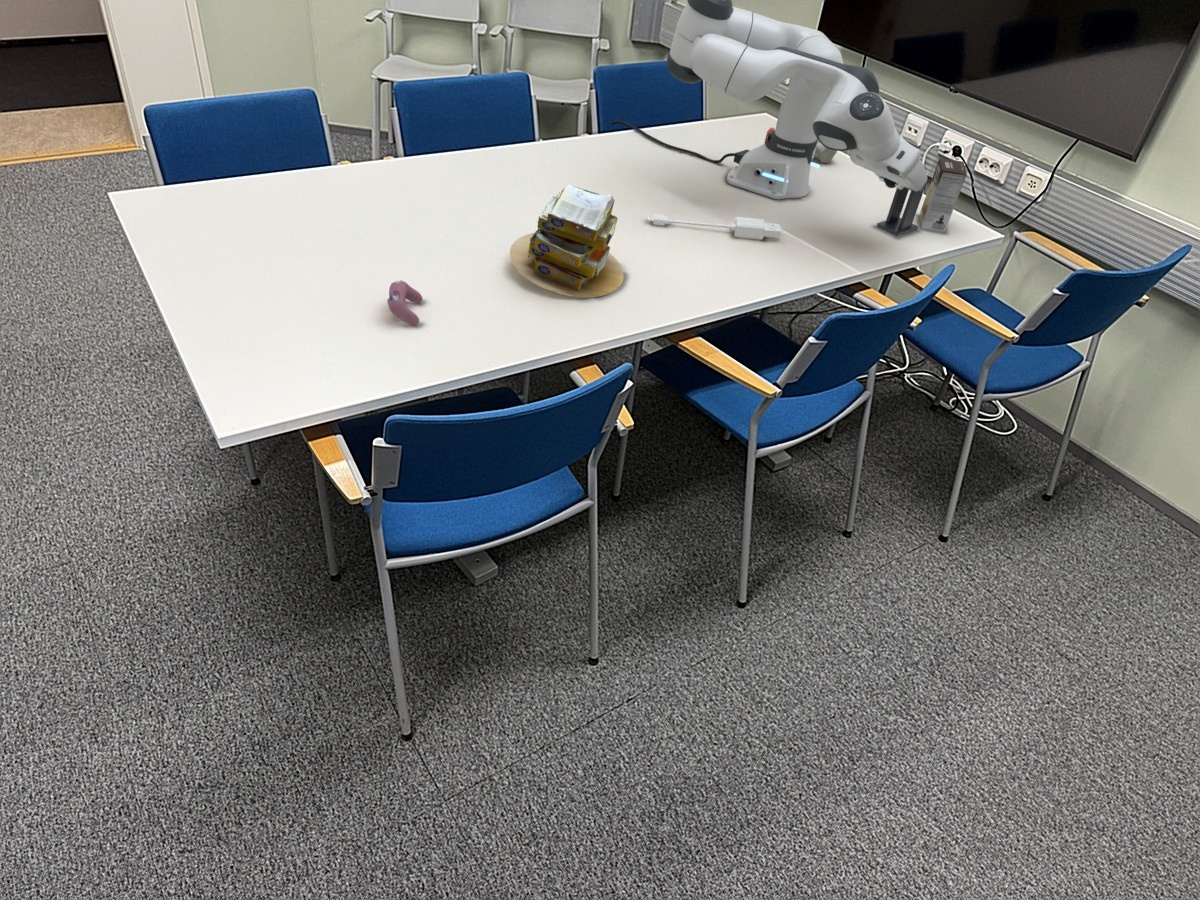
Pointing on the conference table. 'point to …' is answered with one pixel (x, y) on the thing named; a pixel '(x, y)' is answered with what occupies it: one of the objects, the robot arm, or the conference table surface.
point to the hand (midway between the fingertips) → (892, 182)
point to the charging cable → (733, 226)
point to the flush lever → (891, 183)
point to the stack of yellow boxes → (571, 246)
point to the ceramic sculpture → (824, 153)
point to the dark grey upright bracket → (903, 224)
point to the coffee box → (942, 194)
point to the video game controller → (403, 301)
